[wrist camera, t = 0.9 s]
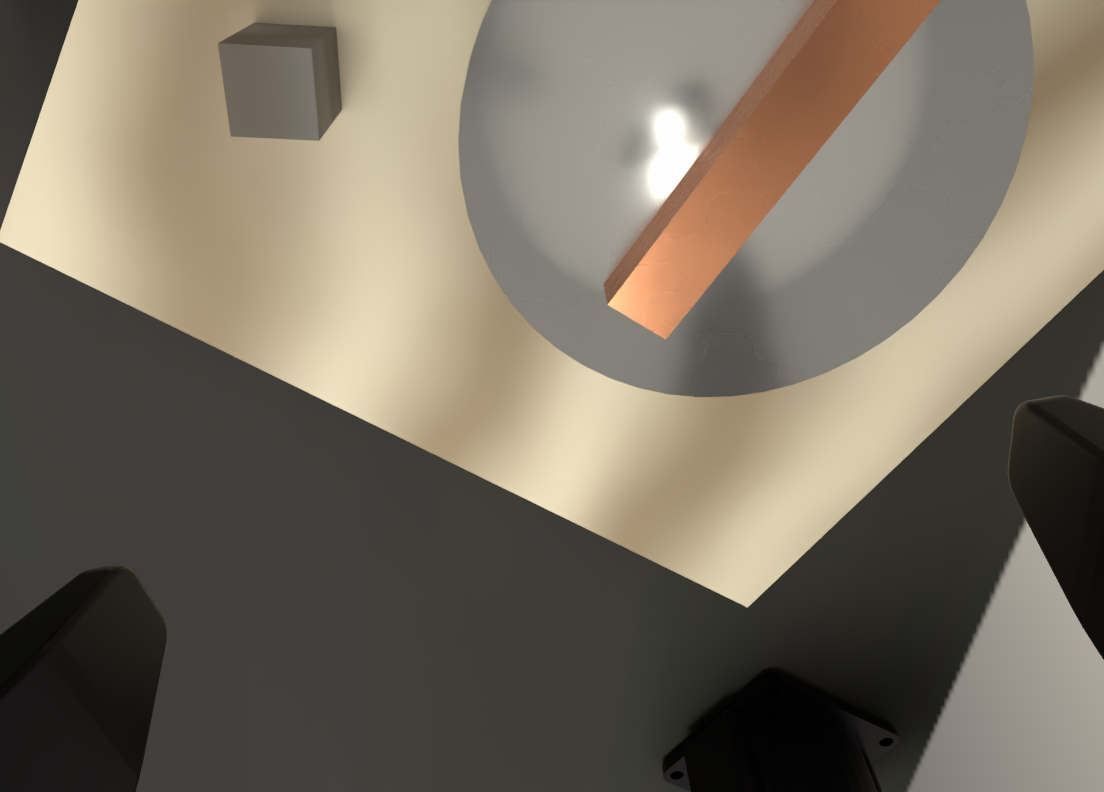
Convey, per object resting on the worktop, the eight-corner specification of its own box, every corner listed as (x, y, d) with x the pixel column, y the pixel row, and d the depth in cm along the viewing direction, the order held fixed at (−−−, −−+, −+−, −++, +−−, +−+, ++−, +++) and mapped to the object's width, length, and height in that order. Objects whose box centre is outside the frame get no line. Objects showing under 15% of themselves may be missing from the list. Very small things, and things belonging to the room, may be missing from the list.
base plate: (1408, -88, 18) (1675, -78, 14) (736, 572, 27) (775, 697, 23) (525, -1179, 11) (530, -1823, 7) (29, 217, 20) (-94, 304, 16)
